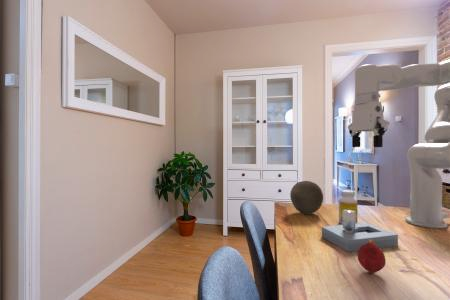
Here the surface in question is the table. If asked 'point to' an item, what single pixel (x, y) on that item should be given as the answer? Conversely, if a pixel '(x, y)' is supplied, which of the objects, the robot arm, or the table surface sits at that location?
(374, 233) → the keyhole plate
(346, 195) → the supplement bottle
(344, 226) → the stud
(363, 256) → the onion
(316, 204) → the dark brown ball
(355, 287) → the table surface
